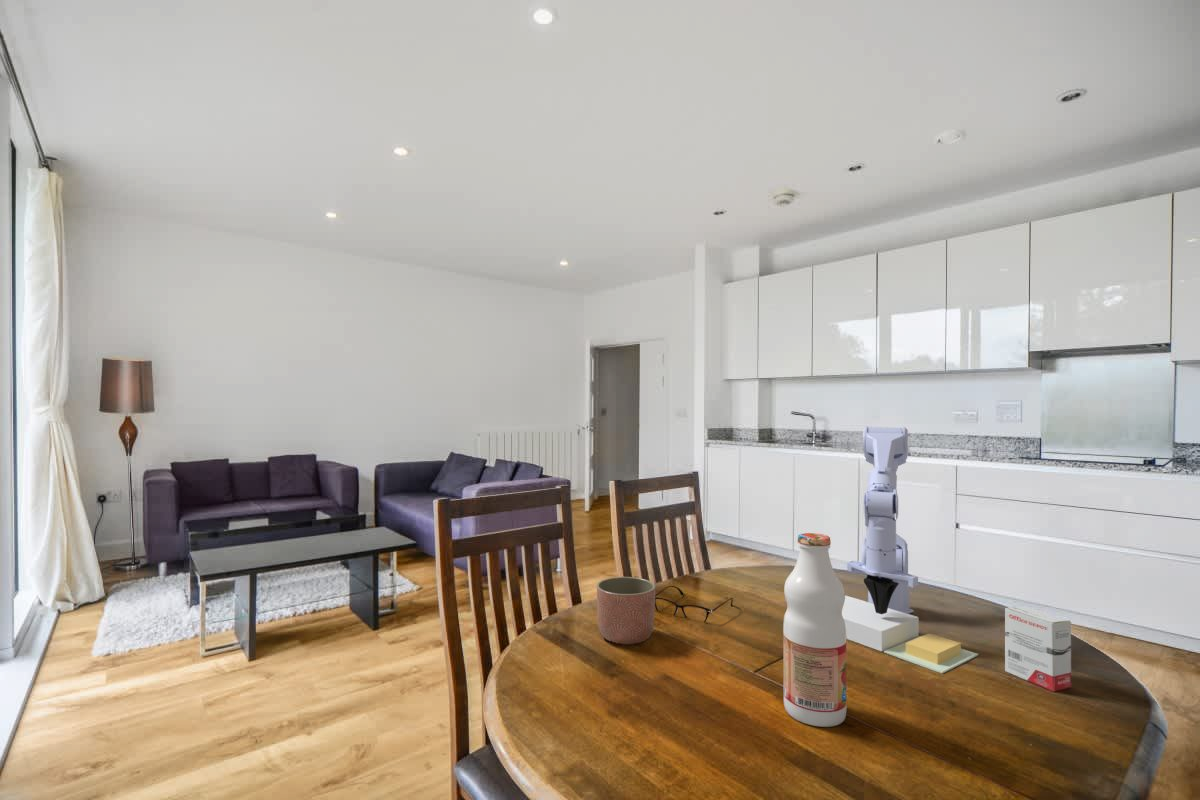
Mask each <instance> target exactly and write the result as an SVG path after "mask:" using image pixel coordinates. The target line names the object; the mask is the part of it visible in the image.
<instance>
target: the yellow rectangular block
mask: <svg viewBox="0 0 1200 800" xmlns="http://www.w3.org/2000/svg"><path fill="white" fill-rule="evenodd" d="M920 636H921V637H919V636H918V637H919V638H917V639H914V638H913V639H914V640H912V641H909V640H908V641H909V642H907V641H906V642H907V643H906V653H907V654H909V655H912V656H915V657H918V658H921V659H923V660H926V661H929V662H932V663H935V664H937V665H938V664H940V663H942V662H944V661H946V660H948V659H950V658H952V657H954V656H956V655H958V654H961V649H962V646H961V645H962V643H961V642H959V641H955V640H952V639H949V638H945V637H943V636H940V635H938V634H937V635H936V634H933V633H930V632H929V633H927V634H925V635H920Z"/></svg>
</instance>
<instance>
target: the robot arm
mask: <svg viewBox="0 0 1200 800" xmlns="http://www.w3.org/2000/svg"><path fill="white" fill-rule="evenodd" d="M908 432H909V431H908V429H907V428H906V427H905V426H902V427H888V426H887V427H884V426H883V427H877V426H876V427H873V426H865V427H864V428H863V430H862V450H863V456H864V458H865V461H866V462H867V463H869V464H871V465H873V468H871V469H870V470H869V472H868V475H867V476H868V477H867V490H866V491H867V492H864V494H863V499H862V500H863V503H862V504H863V514H864V526H865V527H866V529H865V533H866V534H865V536H864V538H863V540H862V548H861V562H860V561H856V560H851V561H847V563H846V564H847V565H846V567H847V568H846V571H848V572H851V573H852V572H855V573H859V574H863V575H866V577H865V578H863V583H864V585H865V586H866V588H867V590H868V591H867V593H868V594H867V598H868V599H867V602H869V603H872V604H874V607H875V611H876V613H879V614H885V613H887V609H888V608H889V609H893V610H896V611H899V612H903V613H906V614H909V615H910V614H912V613H914V609H912V608H910V607H911V605H910V600H911V599H910V598H911V597H910V588H913V589H914V588H916V587H919V577H918V576H917V575H914V574H910V573H909V550H908V543H907V541H906V540H905V539H904V538H903V537H901V536H900V535H899V534H897V520H898V518H899V496H898V489H897V485H898V484H897V483H898V482H897V481H898V479H897V478H898V476H897V471H898V468H899V466H902V465H904V464H906V463H907V460H908V450H909V449H908V448H909V443H908V442H909V441H908V439H909V433H908Z"/></svg>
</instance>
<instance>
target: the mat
mask: <svg viewBox="0 0 1200 800" xmlns="http://www.w3.org/2000/svg"><path fill="white" fill-rule="evenodd" d="M921 636H922V635H919V636H918V637H915V638H913V639H911V640H908V641H906V642H903V643H901V644H899V645H896V646H894V647H891V648H889V649H886V650H884V651H883V653H885V654H887V655H890V656H893V657H895V658H899V659H900V660H901V659H902V661H903V660H904V661H906V662H910V663H912V664H915V665H918V666H921V667H923V668H925V669H929V670H931V671H934V672H937V673H940V674H944V673H946V672H949V671H951V670H952V669H954V668H956V667H958V666H961V665H963V664H965V663H967V662H968V661H970V660H972V659H974V658H976V657H978V656H979V653H976V652H974V651H970V650H967V649H964V648H961V654H958V655H956V656H954V657H952V658H950V659H948V660H946V661H944V662H942V663H940V664H938V665H937V664H935V663H932V662H929V661H926V660H923V659H921V658H918V657H915V656H912V655H909V654H907V653H906V643H907V642H909V641H912V640H914V639H917V638H919V637H921Z"/></svg>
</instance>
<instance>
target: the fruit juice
mask: <svg viewBox="0 0 1200 800" xmlns="http://www.w3.org/2000/svg"><path fill="white" fill-rule="evenodd" d="M797 545H798V547H799V553H798V556H797V560H796V562H795V565H794V568H793V570H792V571H791V573H789V575H788V576H787V578H786V580H785V582H784V586H783V587H784V589H783V590H784V591H783V592H784V598H785V602H786V605H787V608H786V611H785V613H784V615H783V624H782V626H783V629H782V630H783V631H782V633H783V651H782V652H783V654H782V655H783V666H782V667H783V705H784V710H785V712H786V713H787V714H788V715H789V716H790V717H791V718H793V719H794V720H796V721H798V722H800V723H803V724H806V725H808V726H809V725H810V726H813V727H822V728H829V727H830V728H831V727H835V726H838V725H841V724H842V723H843V722H844V721H845V720H846V717H847V639H846V626H845V621H844V619H843V616H842V609H843V606H844V602H845V595H846V592H845V587H844V585H843V583H842V581H841V580H840V579H839V578H838V576H837V575H836V572H835V571H834V568H833V564H832V562H831V559H830V554H829V553H830V552H829V549H831V536H829V535H826V534H822V533H815V532H803V533H800V534H798V536H797Z"/></svg>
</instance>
